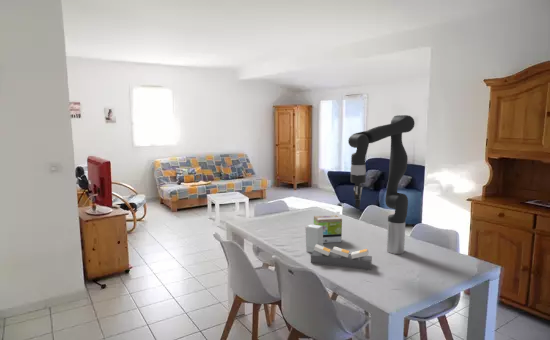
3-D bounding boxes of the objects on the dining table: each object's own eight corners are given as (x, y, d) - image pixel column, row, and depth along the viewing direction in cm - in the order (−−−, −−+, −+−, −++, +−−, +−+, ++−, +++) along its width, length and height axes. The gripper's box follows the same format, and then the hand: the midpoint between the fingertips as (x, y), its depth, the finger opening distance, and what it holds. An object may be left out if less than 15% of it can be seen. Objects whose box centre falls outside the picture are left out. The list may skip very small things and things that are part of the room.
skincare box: (323, 251, 212) (323, 225, 210) (318, 254, 207) (318, 228, 205) (310, 248, 216) (310, 223, 215) (305, 251, 212) (305, 225, 210)
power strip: (314, 257, 203) (314, 247, 202) (371, 263, 193) (372, 253, 192) (310, 262, 195) (310, 252, 194) (370, 269, 185) (370, 259, 185)
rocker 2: (333, 249, 195) (334, 246, 194) (348, 254, 192) (349, 250, 192) (331, 252, 191) (332, 248, 190) (347, 257, 189) (348, 253, 188)
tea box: (318, 244, 225) (318, 219, 223) (313, 239, 235) (313, 215, 233) (341, 242, 228) (342, 218, 226) (335, 237, 238) (336, 214, 236)
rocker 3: (353, 255, 192) (351, 251, 192) (368, 252, 189) (367, 248, 189) (352, 258, 188) (350, 254, 188) (367, 255, 185) (366, 251, 185)
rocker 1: (315, 247, 198) (316, 243, 197) (329, 253, 195) (331, 249, 195) (313, 249, 194) (314, 246, 193) (328, 256, 192) (329, 252, 191)
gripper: (352, 171, 200) (352, 203, 202) (348, 175, 187) (348, 209, 190) (366, 171, 197) (366, 204, 200) (364, 175, 185) (363, 210, 187)
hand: (357, 206), depth 195 cm, fingers closed
